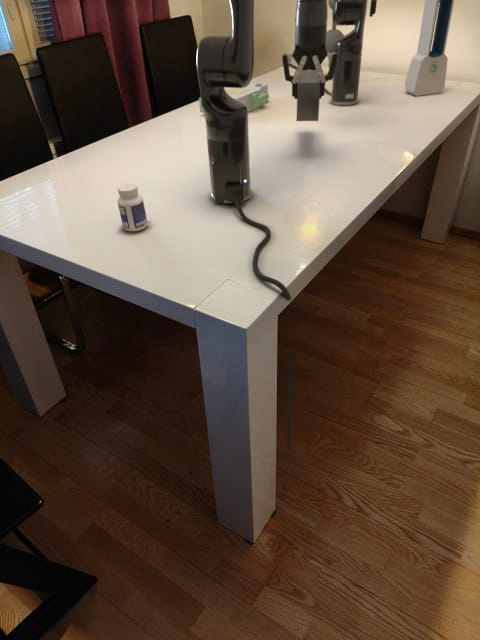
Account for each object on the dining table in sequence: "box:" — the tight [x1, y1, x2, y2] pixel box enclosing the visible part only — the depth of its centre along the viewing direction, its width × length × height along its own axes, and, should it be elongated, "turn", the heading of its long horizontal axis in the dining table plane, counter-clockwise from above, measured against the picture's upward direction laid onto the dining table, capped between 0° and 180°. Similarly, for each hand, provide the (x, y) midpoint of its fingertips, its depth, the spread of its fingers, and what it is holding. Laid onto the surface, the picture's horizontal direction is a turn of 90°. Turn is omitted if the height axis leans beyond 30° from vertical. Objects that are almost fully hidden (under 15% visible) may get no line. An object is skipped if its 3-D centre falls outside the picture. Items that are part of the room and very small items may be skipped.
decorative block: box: [198, 82, 270, 114], centre depth 174 cm, size 26×6×20 cm
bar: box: [296, 69, 320, 122], centre depth 133 cm, size 23×6×9 cm, turn 174°
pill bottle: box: [117, 182, 148, 232], centre depth 102 cm, size 5×5×9 cm
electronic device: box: [404, 0, 455, 97], centre depth 172 cm, size 12×8×30 cm, turn 105°
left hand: (308, 98), depth 126 cm, fingers closed on bar, 5 cm apart
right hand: (355, 17), depth 135 cm, fingers open, 8 cm apart
